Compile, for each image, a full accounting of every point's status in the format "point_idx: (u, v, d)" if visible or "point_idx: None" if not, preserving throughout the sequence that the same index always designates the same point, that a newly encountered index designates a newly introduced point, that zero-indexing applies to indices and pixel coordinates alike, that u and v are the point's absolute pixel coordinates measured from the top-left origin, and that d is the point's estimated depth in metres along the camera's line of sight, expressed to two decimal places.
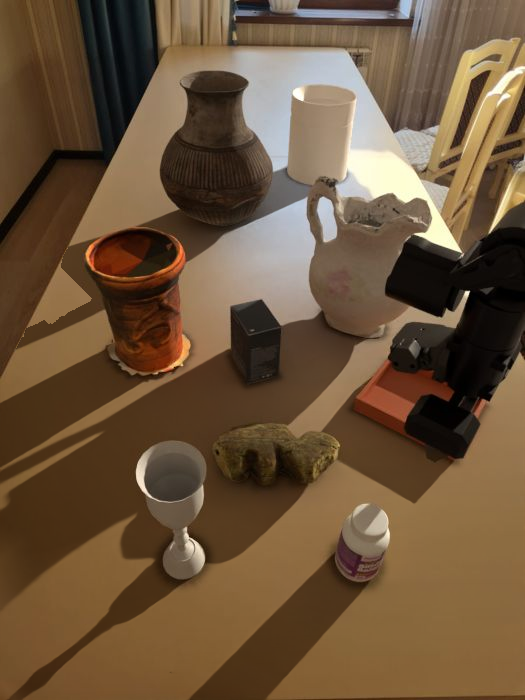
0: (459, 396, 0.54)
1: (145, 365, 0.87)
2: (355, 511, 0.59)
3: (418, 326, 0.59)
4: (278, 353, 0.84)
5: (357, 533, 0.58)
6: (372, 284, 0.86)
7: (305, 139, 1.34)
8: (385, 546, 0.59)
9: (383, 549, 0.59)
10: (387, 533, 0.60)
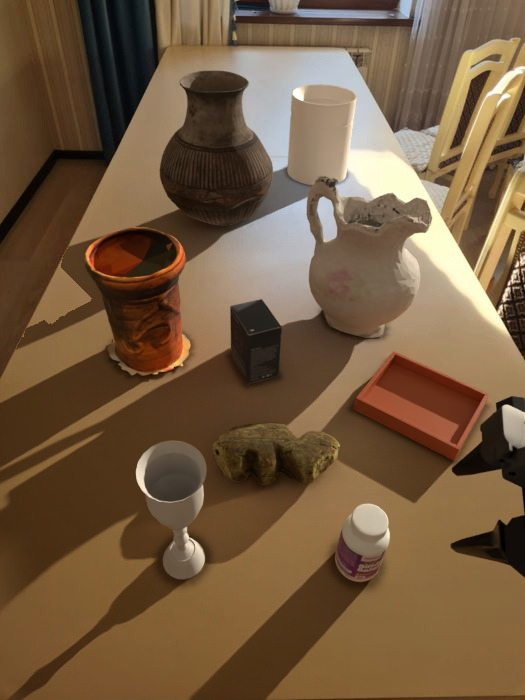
0: None
1: (145, 365, 0.87)
2: (355, 511, 0.59)
3: (518, 417, 0.48)
4: (278, 353, 0.84)
5: (357, 533, 0.58)
6: (372, 284, 0.86)
7: (305, 139, 1.34)
8: (385, 546, 0.59)
9: (383, 549, 0.59)
10: (387, 533, 0.60)
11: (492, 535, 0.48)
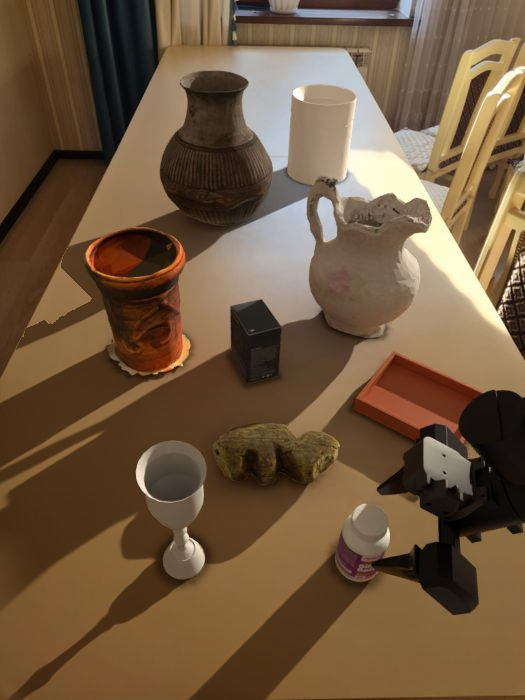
0: (458, 539, 0.51)
1: (145, 365, 0.87)
2: (356, 511, 0.59)
3: (438, 449, 0.51)
4: (278, 353, 0.84)
5: (357, 533, 0.58)
6: (372, 284, 0.86)
7: (305, 139, 1.34)
8: (385, 546, 0.59)
9: (383, 549, 0.59)
10: (387, 533, 0.60)
11: (408, 557, 0.52)
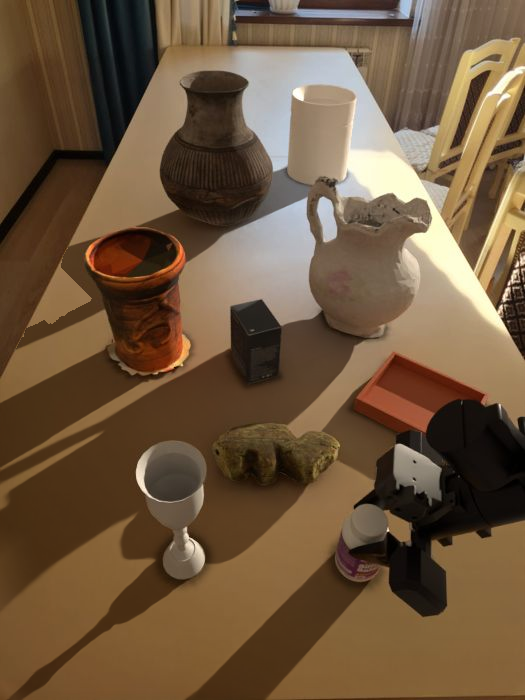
0: (429, 543, 0.53)
1: (145, 365, 0.87)
2: (355, 511, 0.59)
3: (409, 455, 0.52)
4: (278, 353, 0.84)
5: (357, 534, 0.58)
6: (372, 284, 0.86)
7: (305, 139, 1.34)
8: None
9: None
10: None
11: (382, 544, 0.55)
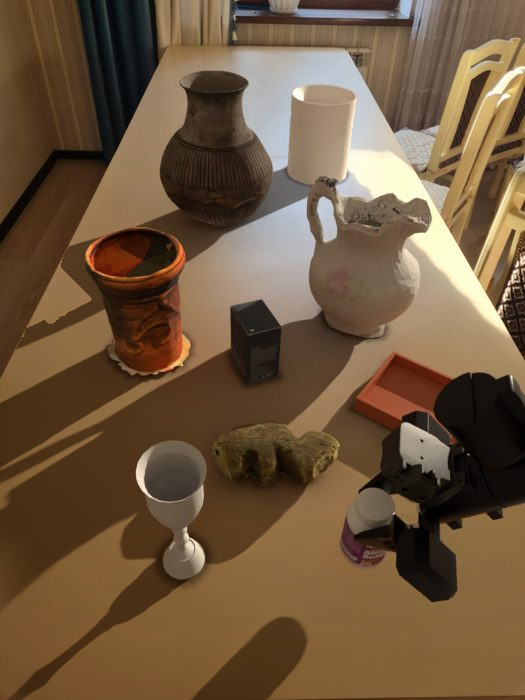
0: (437, 526, 0.51)
1: (145, 365, 0.87)
2: (360, 495, 0.57)
3: (416, 434, 0.50)
4: (278, 353, 0.84)
5: (362, 518, 0.56)
6: (372, 284, 0.86)
7: (305, 139, 1.34)
8: None
9: None
10: None
11: (388, 528, 0.52)
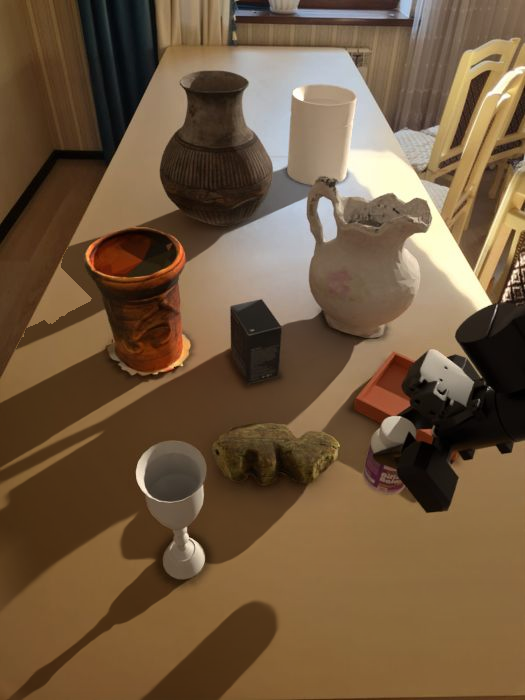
0: (447, 449, 0.54)
1: (145, 365, 0.87)
2: (386, 419, 0.62)
3: (441, 361, 0.54)
4: (278, 353, 0.84)
5: (383, 439, 0.61)
6: (372, 284, 0.86)
7: (305, 139, 1.34)
8: None
9: None
10: None
11: None
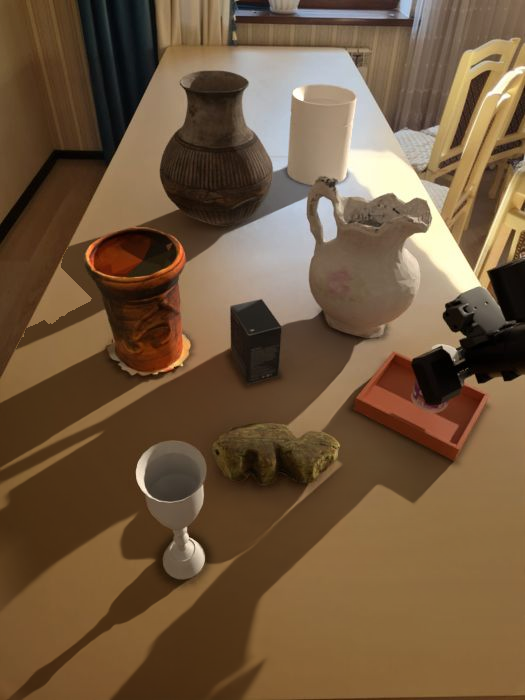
0: (464, 366, 0.67)
1: (145, 365, 0.87)
2: (439, 344, 0.75)
3: (485, 297, 0.67)
4: (278, 353, 0.84)
5: None
6: (372, 284, 0.86)
7: (305, 139, 1.34)
8: None
9: None
10: None
11: None
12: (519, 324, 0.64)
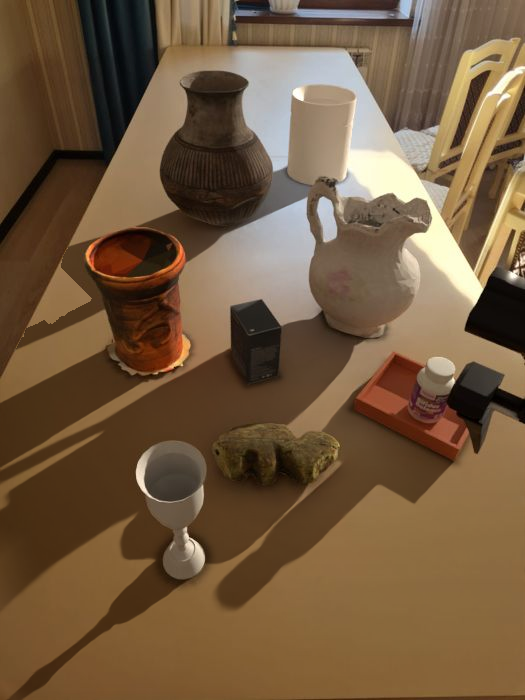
0: (514, 399, 0.55)
1: (145, 365, 0.87)
2: (436, 357, 0.77)
3: None
4: (278, 353, 0.84)
5: (425, 368, 0.76)
6: (372, 284, 0.86)
7: (305, 139, 1.34)
8: (440, 391, 0.76)
9: (438, 392, 0.76)
10: (449, 386, 0.76)
11: None
12: None
